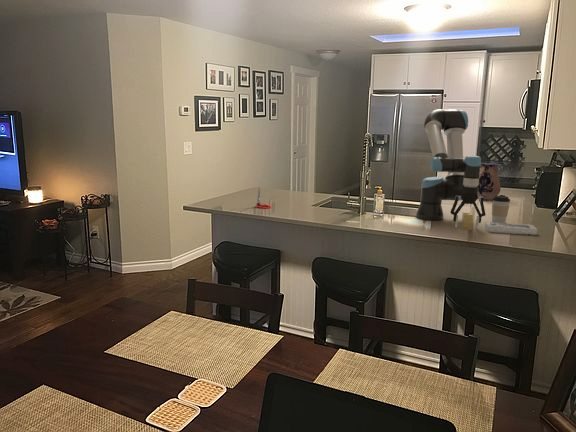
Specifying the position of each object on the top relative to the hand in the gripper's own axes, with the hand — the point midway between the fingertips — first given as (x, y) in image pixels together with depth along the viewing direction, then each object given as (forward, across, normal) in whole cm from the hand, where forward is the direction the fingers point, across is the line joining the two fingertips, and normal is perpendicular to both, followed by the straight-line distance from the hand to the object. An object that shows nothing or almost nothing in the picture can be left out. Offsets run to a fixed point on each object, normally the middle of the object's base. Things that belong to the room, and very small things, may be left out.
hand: (466, 228), depth 253 cm
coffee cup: (0, +20, +20) cm, 28 cm away
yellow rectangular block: (0, 0, 0) cm, 0 cm away
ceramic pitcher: (0, +28, +99) cm, 103 cm away
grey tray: (0, +22, 0) cm, 22 cm away
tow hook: (+1, -116, +24) cm, 118 cm away
